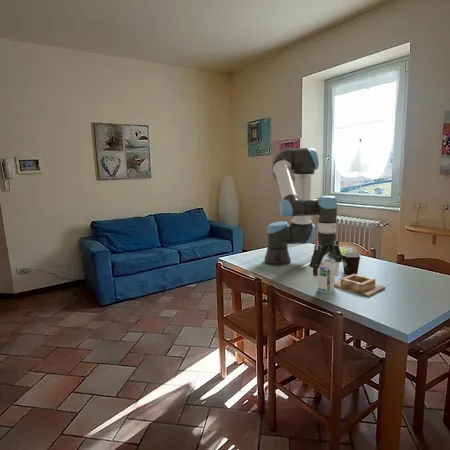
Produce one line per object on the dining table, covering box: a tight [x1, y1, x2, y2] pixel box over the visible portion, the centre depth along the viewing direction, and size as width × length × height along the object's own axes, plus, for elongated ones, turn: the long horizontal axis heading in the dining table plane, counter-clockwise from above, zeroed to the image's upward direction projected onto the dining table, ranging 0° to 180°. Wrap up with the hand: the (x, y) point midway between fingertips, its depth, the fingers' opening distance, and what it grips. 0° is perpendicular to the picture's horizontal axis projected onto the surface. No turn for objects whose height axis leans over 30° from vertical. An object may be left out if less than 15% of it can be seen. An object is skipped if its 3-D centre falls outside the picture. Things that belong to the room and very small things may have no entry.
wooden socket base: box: [334, 273, 386, 298], centre depth 149 cm, size 18×14×4 cm
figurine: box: [312, 246, 350, 255], centre depth 203 cm, size 18×27×6 cm
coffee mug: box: [341, 252, 361, 276], centre depth 169 cm, size 12×9×10 cm
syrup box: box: [316, 257, 336, 295], centre depth 145 cm, size 6×6×14 cm
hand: (326, 279), depth 145 cm, fingers open, 13 cm apart
